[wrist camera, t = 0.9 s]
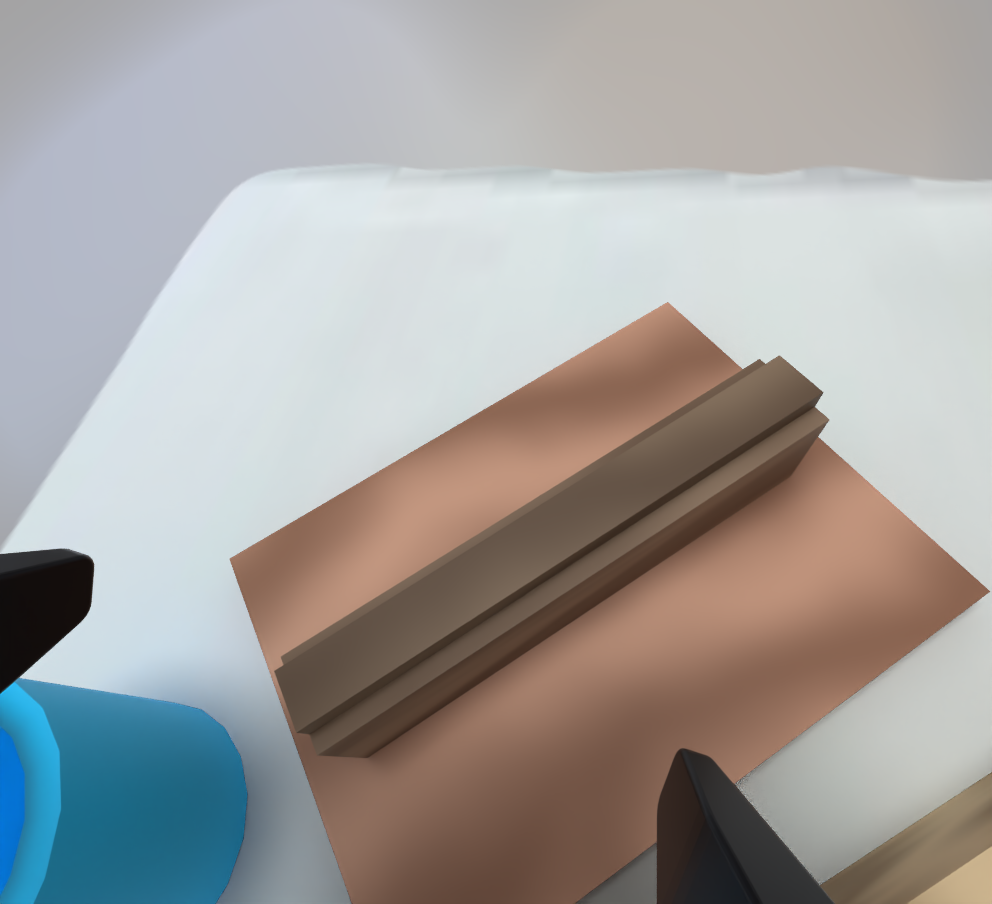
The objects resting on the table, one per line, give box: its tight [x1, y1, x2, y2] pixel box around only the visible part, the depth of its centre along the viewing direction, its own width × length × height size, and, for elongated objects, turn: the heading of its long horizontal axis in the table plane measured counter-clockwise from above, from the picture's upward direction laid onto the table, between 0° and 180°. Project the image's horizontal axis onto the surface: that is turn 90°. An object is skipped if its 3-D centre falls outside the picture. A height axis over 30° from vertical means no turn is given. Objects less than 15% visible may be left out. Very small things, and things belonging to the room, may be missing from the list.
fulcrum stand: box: [230, 302, 990, 904], centre depth 19 cm, size 16×22×6 cm
